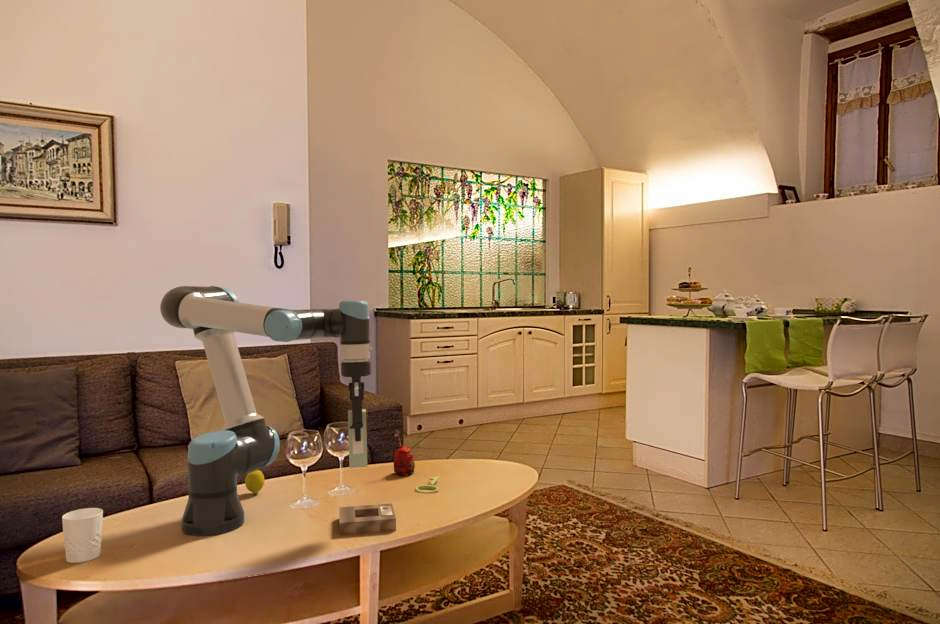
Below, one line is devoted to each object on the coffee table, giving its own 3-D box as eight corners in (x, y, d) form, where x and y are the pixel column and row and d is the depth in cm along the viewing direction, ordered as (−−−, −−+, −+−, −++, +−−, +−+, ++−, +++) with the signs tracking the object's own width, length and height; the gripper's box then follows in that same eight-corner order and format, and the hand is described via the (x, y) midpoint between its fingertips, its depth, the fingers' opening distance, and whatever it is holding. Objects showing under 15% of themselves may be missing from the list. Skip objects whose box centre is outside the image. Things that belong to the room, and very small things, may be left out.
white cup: (54, 561, 139) (54, 516, 139) (88, 548, 146) (88, 506, 146) (78, 566, 136) (77, 521, 136) (111, 553, 143) (110, 510, 143)
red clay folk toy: (410, 477, 203) (410, 432, 203) (389, 476, 205) (389, 431, 205) (417, 471, 211) (416, 427, 210) (397, 470, 212) (397, 426, 212)
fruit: (248, 491, 189) (248, 465, 189) (266, 490, 190) (266, 464, 189) (242, 496, 184) (242, 470, 184) (261, 496, 184) (261, 469, 184)
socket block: (339, 535, 154) (339, 521, 154) (339, 518, 165) (339, 505, 165) (396, 530, 156) (395, 517, 156) (392, 514, 168) (392, 502, 168)
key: (438, 482, 199) (438, 475, 199) (438, 494, 187) (438, 487, 187) (416, 482, 199) (416, 476, 199) (414, 495, 186) (414, 488, 186)
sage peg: (349, 468, 157) (347, 412, 157) (349, 463, 161) (348, 410, 161) (367, 466, 158) (365, 411, 157) (367, 462, 162) (365, 409, 162)
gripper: (371, 362, 151) (373, 458, 151) (369, 357, 168) (372, 442, 169) (339, 364, 150) (342, 460, 150) (341, 358, 167) (344, 444, 167)
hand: (358, 450), depth 159 cm, fingers closed on sage peg, 4 cm apart
